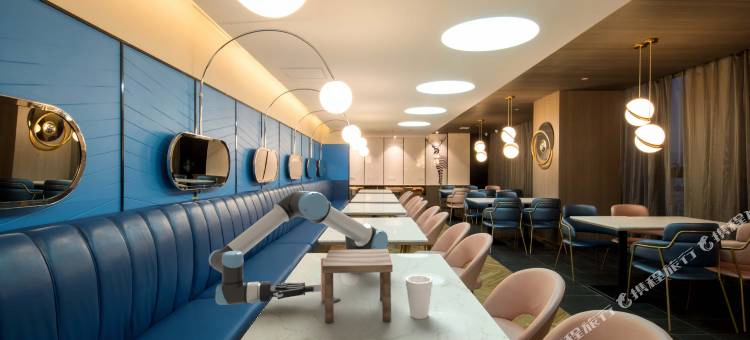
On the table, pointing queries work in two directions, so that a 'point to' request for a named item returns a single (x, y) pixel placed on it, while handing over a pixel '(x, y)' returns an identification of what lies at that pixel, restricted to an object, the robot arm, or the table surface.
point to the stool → (358, 264)
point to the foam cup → (419, 295)
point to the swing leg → (322, 281)
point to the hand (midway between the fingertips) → (321, 287)
